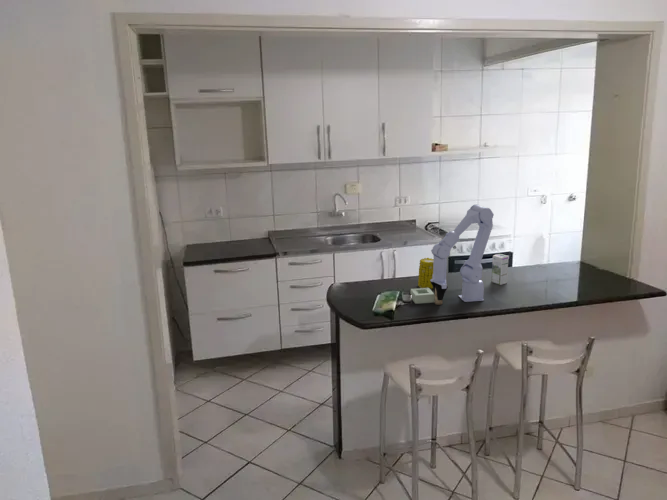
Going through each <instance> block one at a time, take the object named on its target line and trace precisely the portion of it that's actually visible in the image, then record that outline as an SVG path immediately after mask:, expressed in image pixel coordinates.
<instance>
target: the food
mask: <svg viewBox="0 0 667 500" xmlns="http://www.w3.org/2000/svg"><path fill="white" fill-rule="evenodd" d="M433 264H434V258H432V257H431V258H429V257H424V258H421V259H420V260H419V266H418V267H419V268H418V280H417V283H418V284H417V286H418V288H430V290H433V286H432V284H431V281H430V280H431V279H432V275H433Z"/></svg>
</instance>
